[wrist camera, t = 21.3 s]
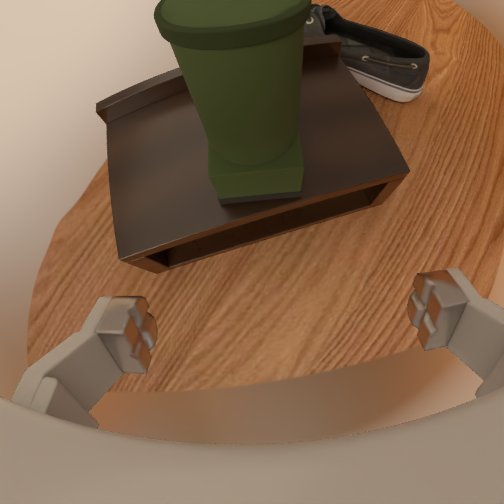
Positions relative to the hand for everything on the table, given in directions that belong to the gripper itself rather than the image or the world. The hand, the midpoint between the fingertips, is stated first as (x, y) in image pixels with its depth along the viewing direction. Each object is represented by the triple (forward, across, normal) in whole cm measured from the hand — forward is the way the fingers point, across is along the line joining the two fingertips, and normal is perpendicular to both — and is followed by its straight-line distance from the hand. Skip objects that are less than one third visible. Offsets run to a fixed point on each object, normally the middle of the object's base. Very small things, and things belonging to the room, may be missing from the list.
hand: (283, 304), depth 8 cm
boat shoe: (+32, -8, -9) cm, 35 cm away
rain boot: (+16, +1, -2) cm, 16 cm away
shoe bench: (+21, +2, +2) cm, 21 cm away
